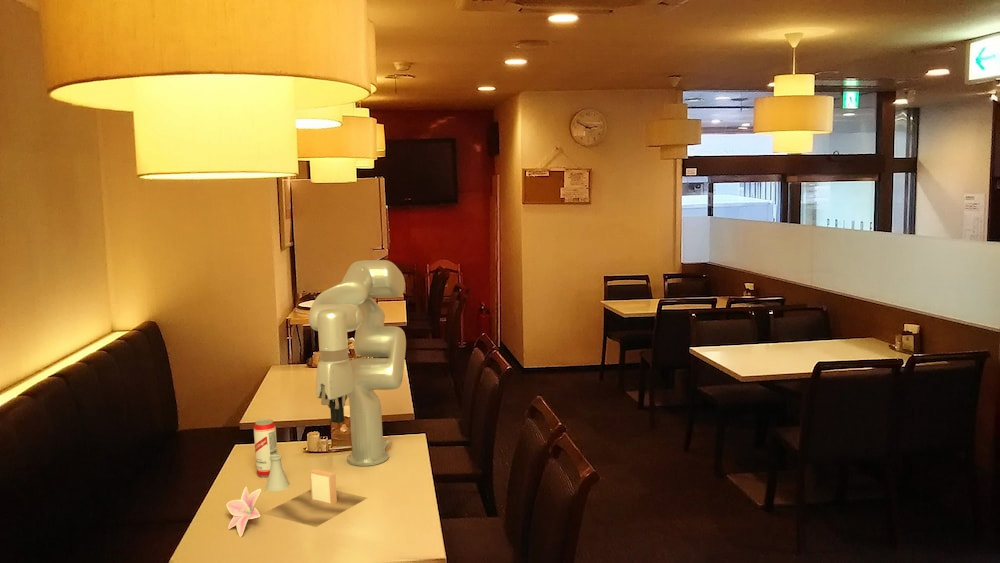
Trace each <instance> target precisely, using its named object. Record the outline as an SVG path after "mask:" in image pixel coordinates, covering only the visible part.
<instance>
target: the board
mask: <svg viewBox="0 0 1000 563" xmlns="http://www.w3.org/2000/svg"><path fill="white" fill-rule="evenodd" d="M336 495H337V503H335V504H333V505H329V504H325V503H321V502H317V501H312V496H311V489H309V490H307V491H305V492H303V493H302V494H301V493H300V494H299V495H297V496H296V497H292V498H291V499H289V500H287V501H285V502H283V503H281V504H279V505H278V506H275V507H273V508H272V509H269V510H268V511H266V512H263V514H264V515H268V516H270V517H276V518H279V519H283V520H287V521H290V522H295V523H297V524H298V523H299V524H302V525H305V526H306V525H307V526H309V527H315V528H317V527H319V526H320V525H322V524H324V523H326V522H328V521H329V520H331V519H333V518H335V517H336V516H338V515H340V514H342V513H343V512H345V511H347V510H350V508H353V507H354V506H356V505H357V504H360V503H362V502H363V501H365V500H367V499H368V497H366V496H361V495H356V494H353V493H347V492H343V491H339V490H336Z"/></svg>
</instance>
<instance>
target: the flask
mask: <svg viewBox="0 0 1000 563" xmlns="http://www.w3.org/2000/svg"><path fill="white" fill-rule="evenodd" d="M269 459H270V460H271V469H270V474H269V477H267V482H266V485H265V489H264V491H265V492H266V491H269V492H280V491H285V490H286V489H288V488H289V486H290V484H291V483H290V481H289V480H288V478H287V475H286V474H285V471H284V469H283V465H282V461H281V459H282V455H281V454H278V455H272V456H270V458H269Z"/></svg>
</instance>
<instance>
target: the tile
mask: <svg viewBox="0 0 1000 563" xmlns="http://www.w3.org/2000/svg"><path fill="white" fill-rule="evenodd" d="M309 478H310V479H309V480H310V490H311V496H312V501H317V502H321V503H325V504H329V505H333V504H335V503H337V495H336V491H337V481H336V480H337V479H336V473H335V472H330V471H325V470H321V469H317V468H315V469H313V470H310V471H309Z"/></svg>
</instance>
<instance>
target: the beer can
mask: <svg viewBox="0 0 1000 563" xmlns="http://www.w3.org/2000/svg"><path fill="white" fill-rule="evenodd" d="M253 437H254V438H253V439H254V452H255V468H256V475H257V476H259V478H260V477H261V478H269V474H270V469H271V460H270V459H269V458H270V456H272V455H279V454H278V444H277V442H278V441H277V427H276V424H275V423H274V420H273V419H269V418H264V419H258V420H257V421H255V424H254V426H253Z"/></svg>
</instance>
